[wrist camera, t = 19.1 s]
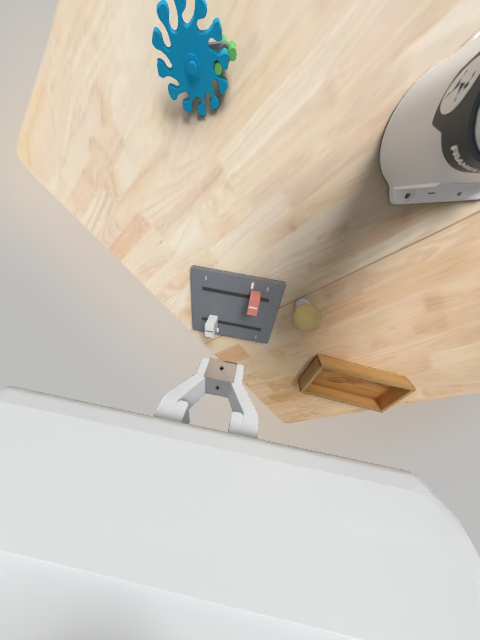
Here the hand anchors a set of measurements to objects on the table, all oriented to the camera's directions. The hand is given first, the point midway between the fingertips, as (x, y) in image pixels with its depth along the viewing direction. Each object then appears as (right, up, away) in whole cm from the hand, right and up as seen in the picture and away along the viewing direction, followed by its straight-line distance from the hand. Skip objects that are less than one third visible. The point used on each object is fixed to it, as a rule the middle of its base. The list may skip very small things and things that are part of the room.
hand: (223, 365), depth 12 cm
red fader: (+5, +9, +32) cm, 34 cm away
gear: (-4, +41, +14) cm, 44 cm away
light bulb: (+18, +8, +34) cm, 39 cm away
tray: (+40, -17, +48) cm, 65 cm away
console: (0, +7, +37) cm, 38 cm away
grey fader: (-7, +3, +38) cm, 39 cm away
